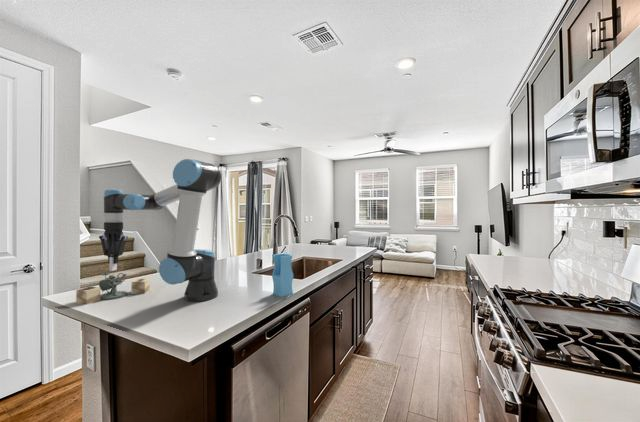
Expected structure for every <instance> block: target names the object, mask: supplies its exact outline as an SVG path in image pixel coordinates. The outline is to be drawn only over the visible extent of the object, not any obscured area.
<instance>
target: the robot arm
mask: <svg viewBox="0 0 640 422" xmlns="http://www.w3.org/2000/svg"><path fill="white" fill-rule="evenodd" d="M172 179H173V180H174V181H173V182H174V183H175V184H174V185H171V186H169V187H167V188H165V189H162V190H160V191H157V192H155V193H152V194H139V193H124V191H123V190H122V189H105V190H104V193H103V194H104V195H103V221H104V222H103V230H104V233H103V234H102V235H99V236H98V238H99V240H100V242H101V247H102V252H103V255H104V256H105V257H106V256H107V259H108V261H107V263H108V264H109V266H108V267H109V272H114V271H118V264H119V257H121V256H122V255H123V254H124V250H125V247H126V242H127V240H128V238H129V236H127V235H125V234H124V233H123V232H124V231H123V229H124V222H123V221H124V211H125V210H126V211H142V210H143V211H161V210H164V209H165V208H166V207H167V206H168V205H170V204H173V203H175V202H178V209H177V215H176V221H175V227H174V234H173V242H172V247H171V248H170V249H168V251H167V255H166V258H164V259H162V261H161V262H160V263H159V265H158V272H159V275H160V278H161V279H162V280H163V281H164V282H165V283H167V284H168V285H173V286H174V285H178V284H182V283H185V282H187V285H186V289H185V291H184V294H183V295H184V297H183V299H184V300H185V301H188V302H204V301H210V300H213V299H215V298H216V297H218V295H219V290H218V287H217V284H216V281H215V263H216V262H215V261H216V260H215V259H216V258H215V255H216V254H215V251H214V250H211V249H200V248H199V249H197V248H195V245H196V243H195V242H196V238H197V237H196V236H197V232H198V224H199V219H200V212H201V205H202V198H203V197H204V195H206V194H207V193H208V192H209V191H211V190H213V189H215V188H217V187H218V186H219V185H220V184H221V182H222V172H221V170H220V169H219V167H218V166H216V165H215V164H213V163H209V162H204V161H200V160H197V159H193V158H192V159H190V158H184V159H182V160H180V161H179V162H177V164H175V166H174V167H173V170H172Z"/></svg>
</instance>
